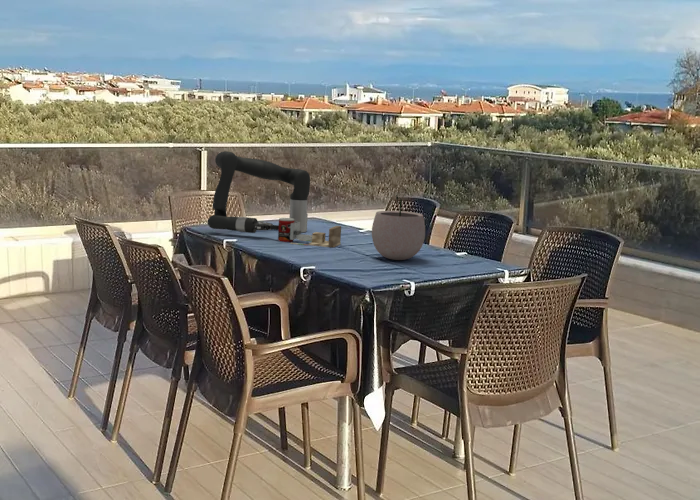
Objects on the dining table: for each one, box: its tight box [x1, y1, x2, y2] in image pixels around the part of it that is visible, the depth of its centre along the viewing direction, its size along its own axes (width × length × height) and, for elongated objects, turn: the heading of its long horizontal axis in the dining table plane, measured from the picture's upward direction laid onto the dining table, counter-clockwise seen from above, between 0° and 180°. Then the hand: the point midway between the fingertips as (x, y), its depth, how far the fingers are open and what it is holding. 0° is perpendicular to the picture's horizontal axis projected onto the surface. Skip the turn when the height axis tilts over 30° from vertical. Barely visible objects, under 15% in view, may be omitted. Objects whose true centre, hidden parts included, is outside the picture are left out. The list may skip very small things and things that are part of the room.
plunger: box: [290, 221, 312, 242], centre depth 400 cm, size 12×9×8 cm
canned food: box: [277, 217, 295, 243], centre depth 403 cm, size 8×8×11 cm
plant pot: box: [371, 193, 426, 261], centre depth 366 cm, size 24×24×30 cm
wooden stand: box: [289, 225, 342, 248], centre depth 399 cm, size 22×15×9 cm
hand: (278, 227), depth 404 cm, fingers closed
